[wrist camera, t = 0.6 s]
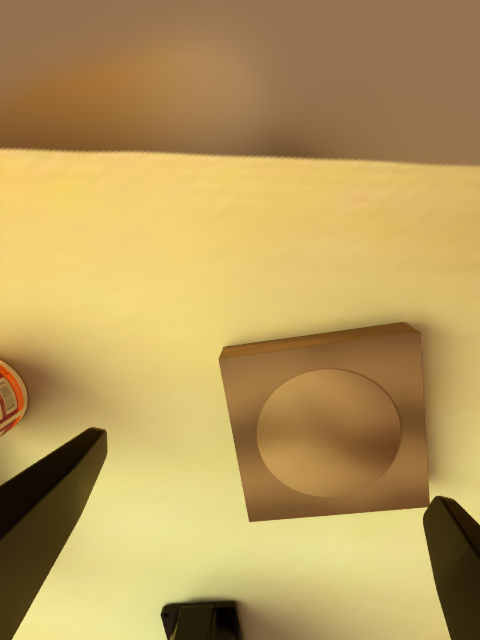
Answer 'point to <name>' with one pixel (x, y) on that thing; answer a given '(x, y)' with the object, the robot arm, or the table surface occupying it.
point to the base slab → (329, 422)
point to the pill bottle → (11, 398)
